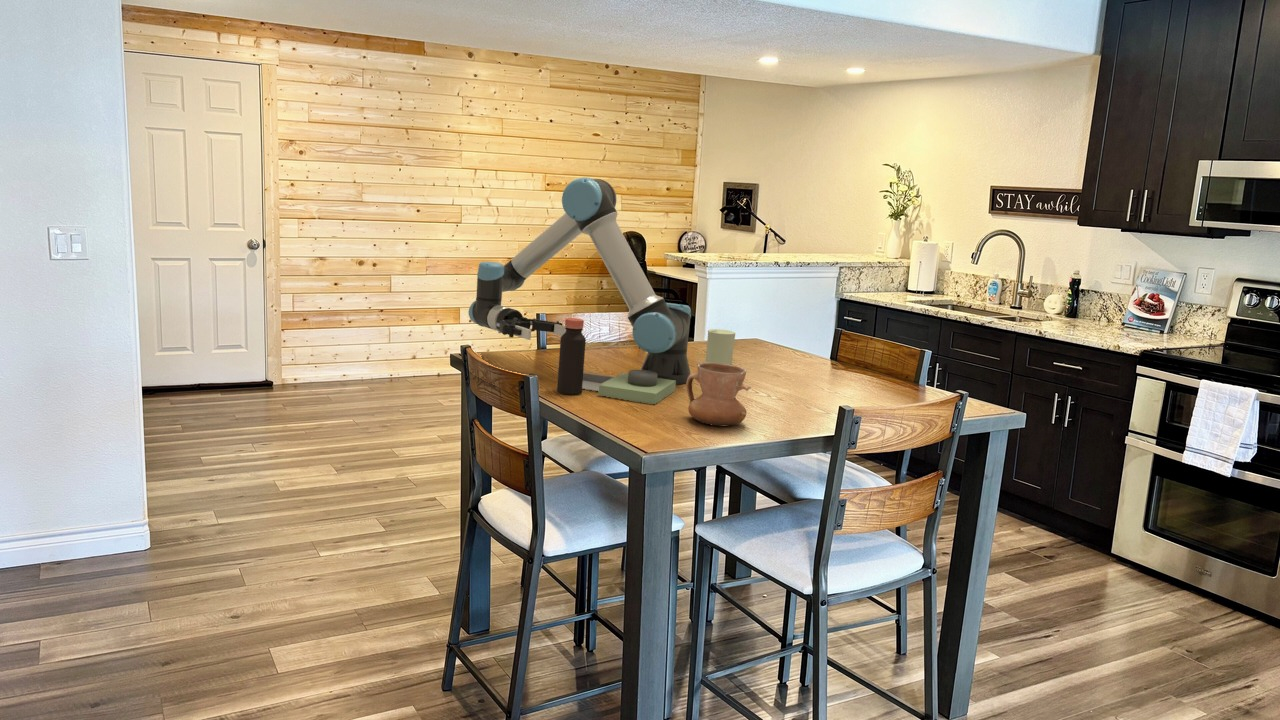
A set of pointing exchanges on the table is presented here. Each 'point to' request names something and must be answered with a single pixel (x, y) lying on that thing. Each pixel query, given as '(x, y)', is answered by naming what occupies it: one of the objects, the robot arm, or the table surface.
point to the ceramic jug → (717, 394)
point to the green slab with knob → (630, 386)
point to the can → (720, 346)
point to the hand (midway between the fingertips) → (550, 333)
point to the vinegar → (571, 358)
